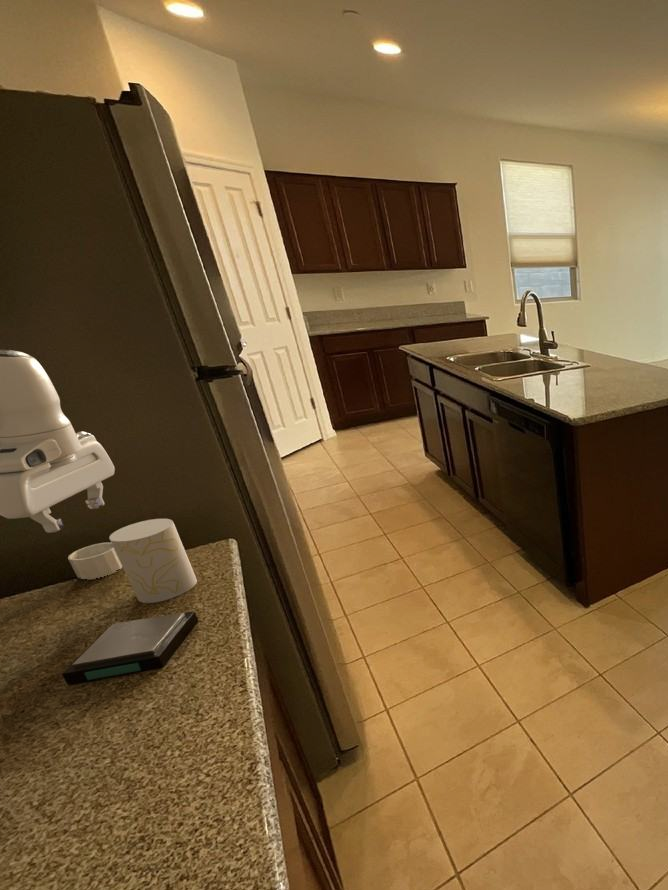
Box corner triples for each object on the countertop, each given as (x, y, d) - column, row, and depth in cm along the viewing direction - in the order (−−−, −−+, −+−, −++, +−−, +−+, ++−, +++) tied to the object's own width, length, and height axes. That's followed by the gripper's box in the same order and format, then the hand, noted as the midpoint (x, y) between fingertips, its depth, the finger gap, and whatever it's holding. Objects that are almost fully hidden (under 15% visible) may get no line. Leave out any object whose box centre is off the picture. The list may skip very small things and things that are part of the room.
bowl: (69, 584, 94) (58, 562, 93) (92, 565, 100) (82, 545, 98) (112, 577, 96) (103, 556, 94) (133, 560, 102) (124, 540, 100)
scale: (66, 686, 71) (58, 671, 70) (115, 634, 81) (108, 621, 80) (162, 668, 74) (156, 654, 73) (198, 621, 84) (193, 607, 83)
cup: (137, 608, 87) (107, 546, 83) (137, 588, 93) (110, 528, 88) (198, 589, 92) (174, 530, 87) (195, 571, 98) (172, 514, 93)
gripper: (69, 429, 97) (100, 496, 103) (-40, 468, 79) (5, 547, 84) (108, 427, 98) (137, 493, 104) (10, 464, 80) (51, 543, 85)
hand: (77, 518), depth 94 cm, fingers open, 8 cm apart
